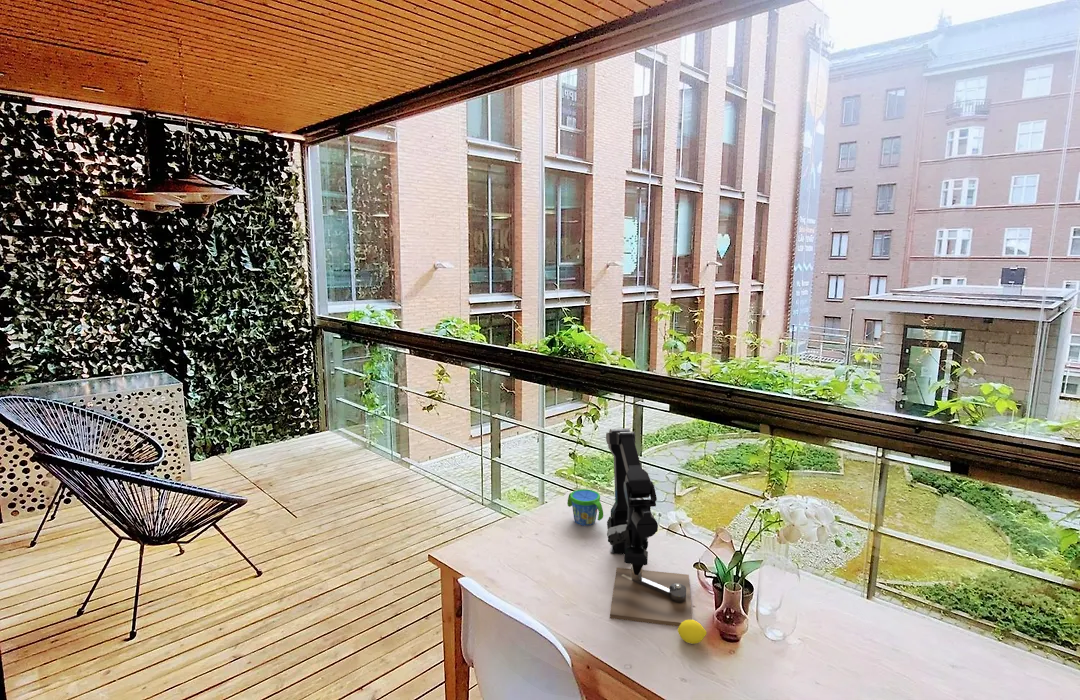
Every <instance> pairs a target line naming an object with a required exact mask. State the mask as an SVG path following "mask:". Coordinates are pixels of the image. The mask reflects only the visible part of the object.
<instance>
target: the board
mask: <svg viewBox="0 0 1080 700" xmlns="http://www.w3.org/2000/svg"><path fill="white" fill-rule="evenodd" d="M642 578H645V579H647V580H650V581H652V582H654V583H657V584H659V585H662V586H664V587H667V588H669V589H670V585H671V584H674V583H678V584H682V585H684V586H685V587H686V601H685V602H683V603H676V602H673V601H671V600H670V598H669V596H667V595H665V594H662V593H660V592H658V591H655V590H653V589H650V588H648V587H646V586H643V585H641V584H639V583H636V582H634V581H632V578H631V568H626V567H616V570H615V575H614V583H613V591H612V597H611V604H610V609H609V619H611V620H619V621H621V620H622V621H628V622H637V623H645V624H652V625H653V624H654V625H660V626H661V625H662V626H663V625H664V626H670V627H677V628H678V627H679V626H680V624H681V623H682V622H683V621H685V620H693V612H692V611H693V609H692V600H691V599H692V598H691V597H692V596H691V587H690V586H691V585H690V575H689V574H685V573H675V572H668V571H667V572H665V571H658V570H657V571H656V570H646V569H645V570H644V569H642Z"/></svg>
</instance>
